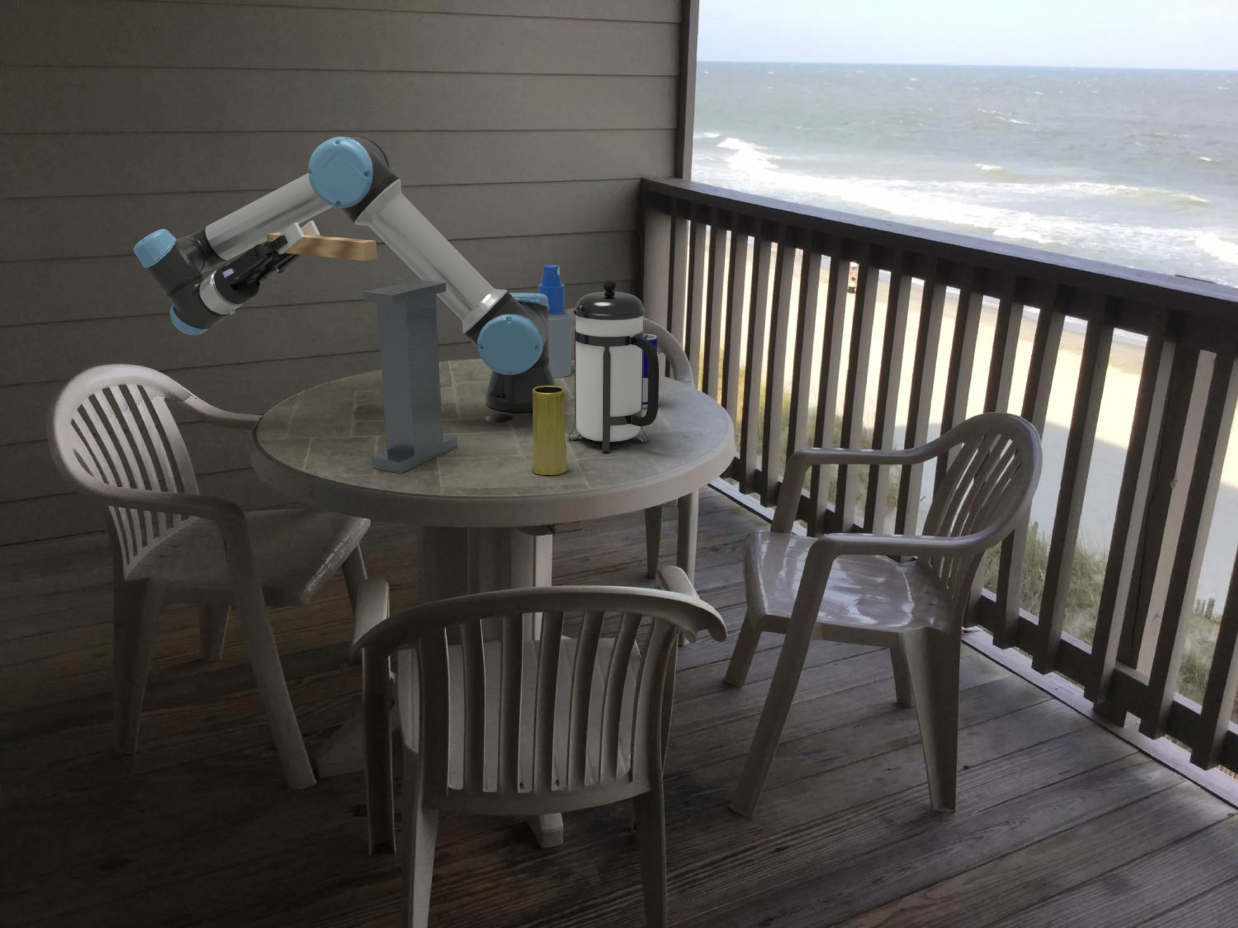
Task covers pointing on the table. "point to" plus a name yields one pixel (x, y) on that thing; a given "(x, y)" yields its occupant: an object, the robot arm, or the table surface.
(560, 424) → the vase
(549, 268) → the spray bottle
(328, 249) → the oak bar
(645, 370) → the beverage can
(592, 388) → the coffee press
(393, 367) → the charcoal post
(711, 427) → the table surface
